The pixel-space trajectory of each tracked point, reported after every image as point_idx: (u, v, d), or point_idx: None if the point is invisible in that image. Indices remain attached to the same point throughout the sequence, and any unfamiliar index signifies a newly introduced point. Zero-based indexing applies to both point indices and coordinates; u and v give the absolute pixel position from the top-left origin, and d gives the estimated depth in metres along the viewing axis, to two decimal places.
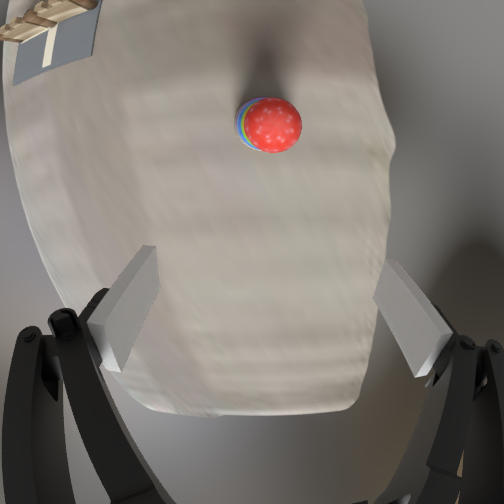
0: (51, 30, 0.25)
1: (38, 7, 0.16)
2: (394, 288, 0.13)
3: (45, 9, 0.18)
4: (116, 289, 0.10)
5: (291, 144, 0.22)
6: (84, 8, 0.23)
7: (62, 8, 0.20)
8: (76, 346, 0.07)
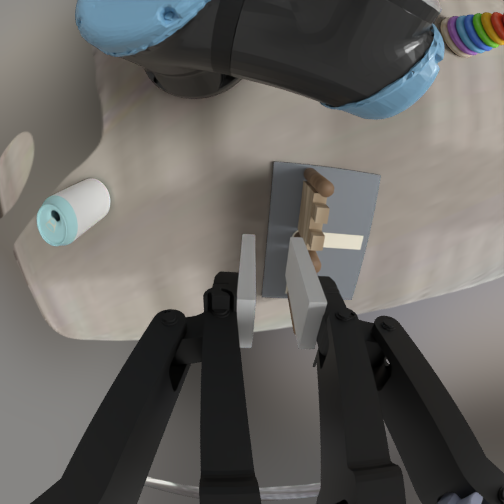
0: None
1: (322, 241, 0.30)
2: (292, 263, 0.15)
3: None
4: (246, 270, 0.12)
5: None
6: None
7: None
8: (226, 326, 0.09)
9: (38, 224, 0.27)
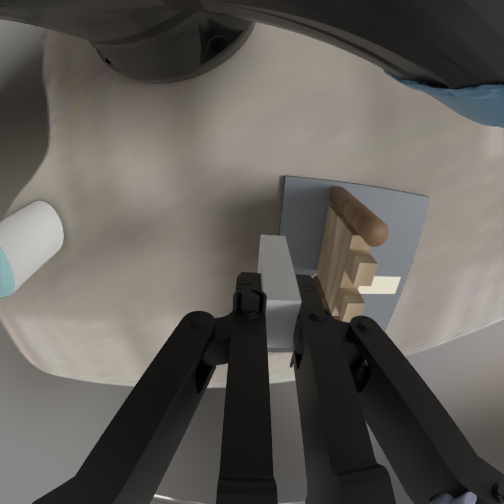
0: None
1: (360, 310, 0.19)
2: None
3: None
4: (269, 271, 0.12)
5: None
6: None
7: None
8: (254, 327, 0.09)
9: None
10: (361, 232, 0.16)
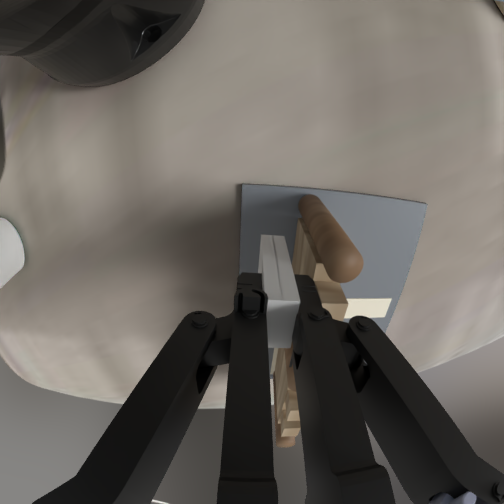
0: None
1: None
2: None
3: None
4: (270, 271, 0.12)
5: None
6: None
7: None
8: (255, 327, 0.09)
9: None
10: (324, 263, 0.12)
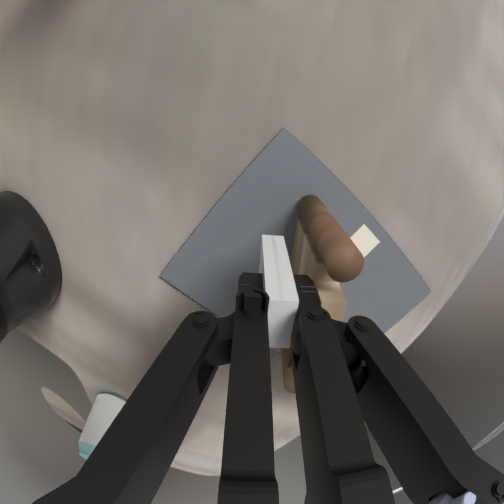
0: None
1: None
2: None
3: None
4: (271, 271, 0.12)
5: None
6: None
7: None
8: (256, 327, 0.09)
9: None
10: (324, 262, 0.12)
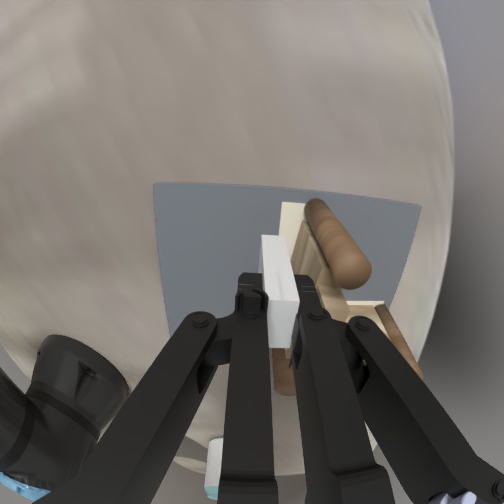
0: None
1: None
2: None
3: None
4: (270, 271, 0.12)
5: None
6: None
7: None
8: (256, 327, 0.09)
9: None
10: (333, 268, 0.12)
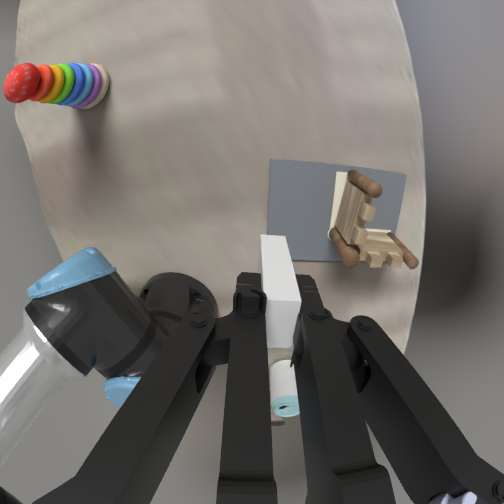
0: None
1: (365, 236, 0.32)
2: None
3: None
4: (269, 271, 0.12)
5: None
6: None
7: None
8: (254, 327, 0.09)
9: (286, 416, 0.48)
10: (368, 189, 0.30)
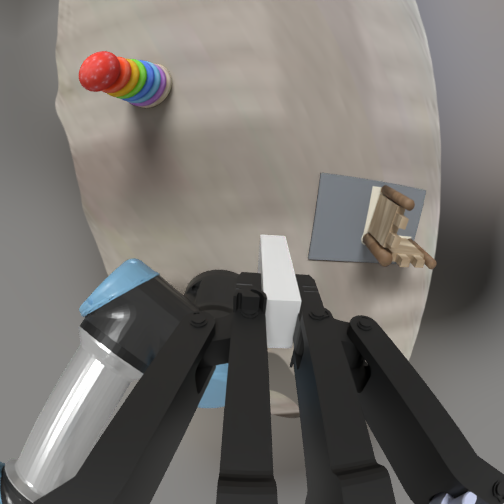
0: None
1: (399, 241, 0.38)
2: None
3: None
4: (269, 271, 0.12)
5: (84, 61, 0.20)
6: None
7: None
8: (254, 326, 0.09)
9: None
10: (403, 203, 0.35)
